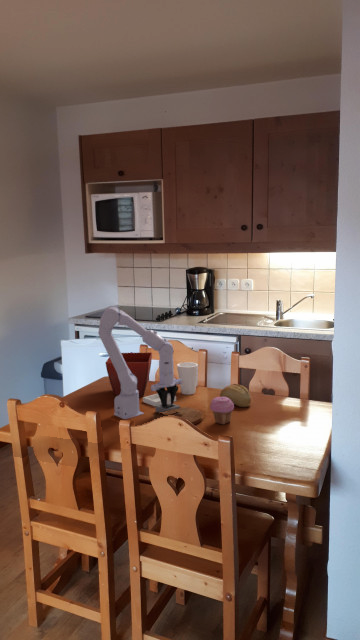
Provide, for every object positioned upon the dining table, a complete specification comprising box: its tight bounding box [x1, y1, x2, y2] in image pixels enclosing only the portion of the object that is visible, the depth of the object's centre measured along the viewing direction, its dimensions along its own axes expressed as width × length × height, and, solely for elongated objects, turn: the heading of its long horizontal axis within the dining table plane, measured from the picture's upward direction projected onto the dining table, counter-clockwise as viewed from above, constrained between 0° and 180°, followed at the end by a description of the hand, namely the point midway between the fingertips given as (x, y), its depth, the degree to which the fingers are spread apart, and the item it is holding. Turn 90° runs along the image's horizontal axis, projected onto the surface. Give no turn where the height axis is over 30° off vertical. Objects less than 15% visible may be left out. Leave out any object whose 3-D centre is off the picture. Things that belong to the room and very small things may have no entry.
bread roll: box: [219, 383, 252, 408], centre depth 215 cm, size 10×15×8 cm, turn 44°
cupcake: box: [210, 396, 235, 425], centre depth 193 cm, size 9×9×10 cm
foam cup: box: [176, 361, 199, 396], centre depth 232 cm, size 10×9×13 cm
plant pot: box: [105, 352, 153, 398], centre depth 233 cm, size 19×19×17 cm
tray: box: [142, 393, 177, 407], centre depth 220 cm, size 11×9×2 cm
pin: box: [164, 392, 171, 408], centre depth 206 cm, size 3×3×8 cm
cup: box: [154, 403, 181, 413], centre depth 206 cm, size 7×7×3 cm
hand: (167, 404), depth 206 cm, fingers closed on pin, 3 cm apart
